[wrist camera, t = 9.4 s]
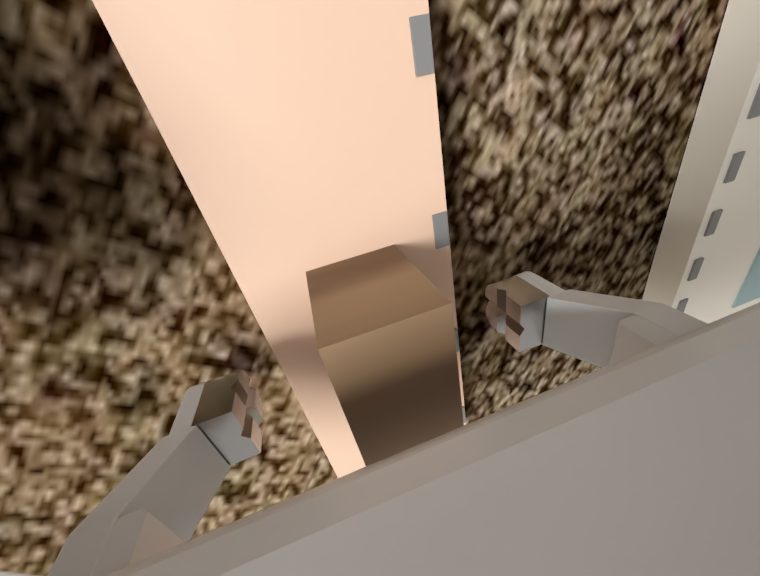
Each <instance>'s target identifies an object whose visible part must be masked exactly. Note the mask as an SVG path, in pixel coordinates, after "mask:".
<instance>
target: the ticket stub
mask: <svg viewBox="0 0 760 576" xmlns="http://www.w3.org/2000/svg"><path fill="white" fill-rule="evenodd" d="M92 1H93V3H94V5H95V7H96V9H97V11H98V13H99V15H100V16H101V18H102V20H103V22H104V24H105V26H106V28H107V30H108V32H109V34H110V36H111V38H112V40H113V42H114V44H115V46H116V48H117V49H118V51H119V53H120V55H121V57H122V59H123V61H124V63H125V65H126V67H127V69H128V71H129V73H130V75H131V77H132V79H133V81H134V83H135V84H136V86H137V88H138V90H139V92H140V94H141V96H142V98H143V100H144V102H145V104H146V106H147V108H148V110H149V112H150V114H151V116H152V117H153V119H154V121H155V123H156V125H157V127H158V129H159V131H160V133H161V135H162V137H163V139H164V141H165V143H166V145H167V147H168V149H169V150H170V152H171V154H172V156H173V158H174V160H175V162H176V164H177V166H178V168H179V170H180V172H181V174H182V176H183V178H184V180H185V182H186V183H187V185H188V187H189V189H190V191H191V193H192V195H193V197H194V199H195V201H196V203H197V205H198V207H199V209H200V211H201V213H202V215H203V216H204V218H205V220H206V222H207V224H208V226H209V228H210V230H211V232H212V234H213V236H214V238H215V240H216V242H217V244H218V246H219V248H220V249H221V251H222V253H223V255H224V257H225V259H226V261H227V263H228V265H229V267H230V269H231V271H232V273H233V275H234V277H235V279H236V281H237V283H238V284H239V286H240V288H241V290H242V292H243V294H244V296H245V298H246V300H247V302H248V304H249V306H250V308H251V310H252V312H253V314H254V316H255V317H256V319H257V321H258V323H259V325H260V327H261V329H262V331H263V333H264V335H265V337H266V339H267V341H268V343H269V345H270V347H271V349H272V350H273V352H274V354H275V356H276V358H277V360H278V362H279V364H280V366H281V368H282V370H283V372H284V374H285V376H286V378H287V380H288V382H289V383H290V385H291V387H292V389H293V391H294V393H295V395H296V397H297V399H298V401H299V403H300V405H301V407H302V409H303V411H304V413H305V415H306V416H307V418H308V420H309V422H310V424H311V426H312V428H313V430H314V432H315V434H316V436H317V438H318V440H319V442H320V444H321V446H322V448H323V449H324V451H325V453H326V455H327V457H328V459H329V461H330V463H331V465H332V467H333V469H334V471H335V473H336V475H337V477H338V478H340V477H342V476H344V475H347V474H349V473H351V472H354V471H356V470H359V469H361V468H363V467H366V466H368V465H371V464H373V463H375V462H378V461H380V460H383V459H385V458H387V457H390V456H392V455H395V454H397V453H399V452H402V451H404V450H407V449H409V448H411V447H414V446H416V445H419V444H421V443H423V442H426V441H428V440H431V439H433V438H435V437H438V436H440V435H443V434H445V433H447V432H450V431H452V430H455V429H457V428H459V427H462V426H464V425H466V417H465V406H464V395H463V384H462V373H461V362H460V350H459V339H458V328H457V317H456V306H455V295H454V284H453V272H452V261H451V250H450V239H449V228H448V217H447V206H446V194H445V183H444V172H443V161H442V150H441V139H440V128H439V117H438V105H437V94H436V83H435V72H434V61H433V50H432V39H431V27H430V16H429V5H428V0H92Z"/></svg>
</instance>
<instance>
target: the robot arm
mask: <svg viewBox="0 0 760 576" xmlns="http://www.w3.org/2000/svg"><path fill="white" fill-rule="evenodd" d="M485 296H486V297H487V298H488V299H489V302H488V304H487V306H486V316H487V319H488V321H489V323H490V325H491V326H492V328H493V329H494V330H495V331H497V332H499V333H502V334H505V337H506V341H507V342H508V343H509V344H511V345H512V346H513V347H514V348H515V349H516V350H517V351H518V352H521V351H524V350H527V349H530V348H532V347H535V346H538V345H541V344H543V346H546V347H549V348H551V349H554V350H556V351H559V352H562V353H564V354H567V355H569V356H572V357H575V358H577V359H580V360H582V361H585V362H588V363H590V364H593V365H596V366H598V367H601V369H598V370H596V371H594V372H591V373H589V374H586V375H584V376H582V377H579V378H577V379H574V380H572V381H570V382H567V383H565V384H562V385H560V386H558V387H555V388H553V389H550V390H548V391H546V392H543V393H541V394H539V395H536V396H534V397H531V398H529V399H527V400H524V401H522V402H519V403H517V404H515V405H512V406H510V407H507V408H505V409H503V410H500V411H498V412H495V413H493V414H491V415H488V416H486V417H483V418H481V419H479V420H476V421H474V422H471V423H469V424H467V425H464V426H462V427H459V428H457V429H455V430H452V431H450V432H447V433H445V434H443V435H440V436H438V437H435V438H433V439H431V440H428V441H426V442H423V443H421V444H419V445H416V446H414V447H411V448H409V449H407V450H404V451H402V452H399V453H397V454H395V455H392V456H390V457H387V458H385V459H383V460H380V461H378V462H375V463H373V464H371V465H368V466H366V467H363V468H361V469H359V470H356V471H354V472H351V473H349V474H347V475H344V476H342V477H340V478H337V479H335V480H332V481H330V482H328V483H325V484H323V485H320V486H318V487H316V488H313V489H311V490H308V491H306V492H304V493H301V494H299V495H296V496H294V497H292V498H289V499H287V500H284V501H282V502H280V503H277V504H275V505H272V506H270V507H268V508H265V509H263V510H260V511H258V512H256V513H253V514H251V515H248V516H246V517H244V518H241V519H239V520H236V521H234V522H232V523H229V524H227V525H224V526H222V527H220V528H217V529H215V530H212V531H210V532H208V533H205V534H203V535H200V536H198V537H196V538H193V539H191V540H189V539H190V538H191V536H192V534H193V532H194V531H195V529H196V527H197V525H198V524H199V522H200V520H201V518H202V517H203V515H204V513H205V511H206V510H207V508H208V506H209V504H210V503H211V501H212V499H213V497H214V496H215V494H216V492H217V490H218V489H219V487H220V485H221V483H222V482H223V480H224V478H225V476H226V474H227V473H228V471H229V469H230V465H233V464H235V463H237V462H240V461H242V460H245V459H247V458H249V457H252V456H254V455H256V454H259V453H261V442H262V431H261V430H260V428H259V425H260V423H261V422H262V420H263V412H264V411H263V405H262V400H261V398H260V395H259V393H258V392H257V390H256V389H254V388H252V387H249V383H250V378H249V377H248V375H247V374H246V372H245V371H242V370H241V371H237V372H234V373H231V374H228V375H225V376H222V377H219V378H216V379H213V380H210V381H207V382H204V383H201V384H198V385H195V386H192V387H190V388H189V389H187V390H186V392H185V395H184V397H183V400H182V403H181V405H180V408H179V410H178V413H177V416H176V418H175V421H174V423H173V426H172V429H171V431H170V434H169V435H168V436H165V437H163V438H162V439H161V440H160V441H159V442H158V443H157V444H156V445H155V446H154V447H153V448H152V449H151V450H150V451H149V453H148V454H147V455H146V456H145V457H144V458H143V459H142V460H141V461H140V462H139V463H138V464H137V465H136V466H135V467H134V468H133V469H132V470H131V471H130V472H129V473H128V474H127V475H126V476H125V477H124V479H123V480H122V481H121V482H120V483H119V484H118V485H117V486H116V487H115V488H114V489H113V490H112V491H111V492H110V493H109V494H108V495H107V496H106V497H105V498H104V499H103V500H102V501H101V502H100V504H99V505H98V506H97V507H96V508H95V509H94V510H93V511H92V512H91V513H90V514H89V515H88V516H87V517H86V518H85V519H84V520H83V521H82V522H81V523H80V524H79V525H78V526H77V527H76V528H75V530H74V531H73V532H72V533H71V534H70V535H69V536H68V538H67V540H66V542H65V544H64V546H63V548H62V549H61V551H60V553H59V555H58V557H57V559H56V561H55V562H54V564H53V566H52V568H51V570H50V572H49V574H48V576H760V302H759V303H757V304H754V305H752V306H750V307H747V308H745V309H742V310H740V311H738V312H735V313H733V314H730V315H728V316H726V317H723V318H721V319H718V320H716V321H714V322H711V323H709V324H708V323H705V322H703V321H701V320H699V319H696V318H694V317H692V316H690V315H688V314H685V313H683V312H681V311H679V310H676V309H674V308H672V307H670V306H667V305H665V304H663V303H659V302H652V301H645V300H639V299H632V298H625V297H618V296H612V295H605V294H598V293H592V292H585V291H578V290H571V289H569V290H566V291H565V290H564V289H562V288H560V287H558V286H556V285H554V284H553V283H551V282H549V281H547V280H545V279H544V278H542V277H540V276H538V275H536V274H535V273H533V272H531V271H525V272H522V273H520V274H517V275H514V276H513V277H510V278H507V279H504V280H502V281H499V282H496V283H493V284H490V285H487V287H486V290H485Z"/></svg>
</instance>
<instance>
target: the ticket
mask: <svg viewBox="0 0 760 576" xmlns="http://www.w3.org/2000/svg"><path fill="white" fill-rule="evenodd" d="M642 300H645V301H652V302H659V303H663V304H665V305H667V306H670V307H672V308H674V309H676V310H679V311H681V312H683V313H685V314H688V315H690V316H692V317H694V318H696V319H699V320H701V321H703V322H705V323H708V324H709V323H711V322H714V321H716V320H718V319H721V318H723V317H726V316H728V315H730V314H733V313H735V312H738V311H740V310H742V309H745V308H747V307H750V306H752V305H754V304H757V303H759V302H760V0H729V2H728V5H727V9H726V12H725V16H724V19H723V22H722V26H721V29H720V33H719V36H718V40H717V43H716V46H715V50H714V53H713V57H712V60H711V64H710V67H709V70H708V74H707V77H706V81H705V84H704V88H703V91H702V95H701V98H700V101H699V105H698V108H697V112H696V115H695V119H694V122H693V125H692V129H691V132H690V136H689V139H688V143H687V146H686V150H685V153H684V156H683V160H682V163H681V167H680V170H679V174H678V177H677V180H676V184H675V187H674V191H673V194H672V198H671V201H670V204H669V208H668V211H667V215H666V218H665V222H664V225H663V229H662V232H661V235H660V239H659V242H658V246H657V249H656V253H655V256H654V259H653V263H652V266H651V270H650V273H649V277H648V280H647V283H646V287H645V290H644V294H643V297H642Z"/></svg>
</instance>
